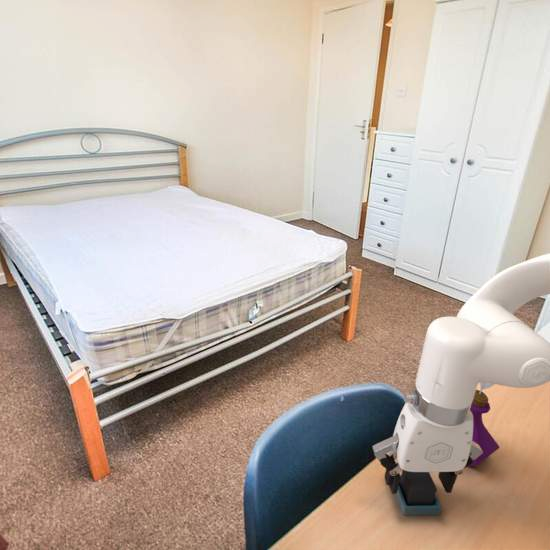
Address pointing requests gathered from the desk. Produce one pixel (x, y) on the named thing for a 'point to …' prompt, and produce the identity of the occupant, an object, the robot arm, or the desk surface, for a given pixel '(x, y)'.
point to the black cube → (417, 488)
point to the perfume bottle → (482, 425)
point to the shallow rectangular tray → (417, 510)
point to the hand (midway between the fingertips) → (417, 485)
